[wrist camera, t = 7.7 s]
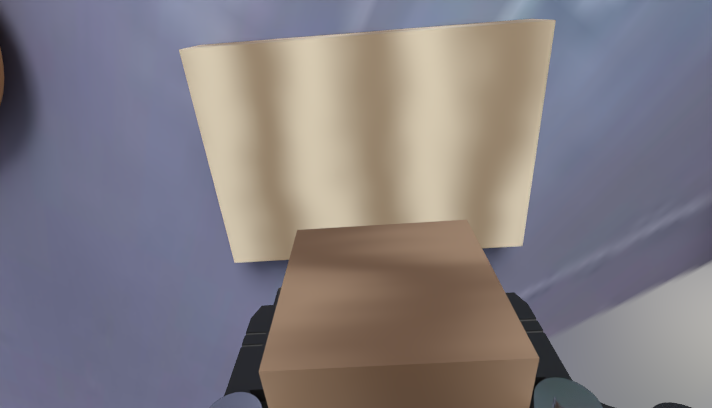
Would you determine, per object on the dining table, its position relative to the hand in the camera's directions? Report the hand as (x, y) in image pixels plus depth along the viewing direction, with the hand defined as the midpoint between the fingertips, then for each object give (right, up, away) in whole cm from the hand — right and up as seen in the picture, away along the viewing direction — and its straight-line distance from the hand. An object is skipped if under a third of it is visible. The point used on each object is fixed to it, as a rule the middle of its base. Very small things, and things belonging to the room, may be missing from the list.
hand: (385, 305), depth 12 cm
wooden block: (0, +7, +14) cm, 16 cm away
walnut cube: (0, 0, +1) cm, 1 cm away
